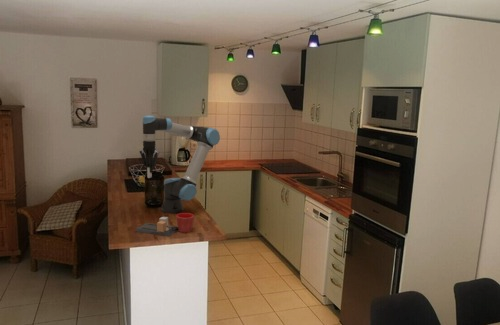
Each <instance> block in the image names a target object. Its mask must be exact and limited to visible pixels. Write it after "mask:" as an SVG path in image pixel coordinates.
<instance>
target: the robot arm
mask: <svg viewBox="0 0 500 325" xmlns="http://www.w3.org/2000/svg"><path fill="white" fill-rule="evenodd" d="M156 131H161V132H165V133H168V134H173V135H177V136H181V137H184V138H186V139H187V140H191V141H194V142H195V143H196V144H197V146H196V149H195V151H194V154H193V156H192V158H191V160H190V162H189V164H188V166H187V169H186V171H185V173H184V176H181V177H170V178H165V179H164V181H163V197H164V198H163V202H162V205H161V211H162V212H163V213H167V214H176V213H177V214H178V213H182V212H183V211H184V205H183V202H182V201H192V200H193V199H194V198H195V197H196V195H197V193H198V192H197V191H198V190H197V179H198V176H199V175H200V172H201V169H202V168H203V165H204V163H205V160H206V159H207V156H208V153H209V151H210V150H212V149H213V148H214V147H215V146H216V145H217V144H219V143H220V139H221V135H220V132H219V131H218V130H217V129H216V128H214V127H208V126H197V125H195V126H194V125H184V124H180V123H176V122H173V121H172V119H171V118H168V117H165V118H164V117H163V118H162V117H156V116H155V115H143V117H142V139H143V141H142V146H143V148H142V150H139V153H140V156H141V161H142V166H143V167H145V168H146V169H145V171H146V173H147V178H148V179H150V178H153V176H152V175H153V174H152V173H154V172H153V171H154V169H153V168H154V167H156V166H157V160H158V156H159V155H160V152H159V151H157V148H156Z"/></svg>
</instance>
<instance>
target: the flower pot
mask: <svg viewBox="0 0 500 325" xmlns="http://www.w3.org/2000/svg"><path fill="white" fill-rule="evenodd" d="M175 217H176V223H177V227H178V232H180V233H191V232H192V229H193V223H194V219H195V215H194V214H193V213H190V212H179V213H177V214H176V216H175Z"/></svg>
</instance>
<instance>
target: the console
mask: <svg viewBox="0 0 500 325" xmlns="http://www.w3.org/2000/svg"><path fill="white" fill-rule="evenodd" d="M135 231H136V232H137V233H145V234H150V235H151V234H152V235H158V236H165V237H170V236H171V235H173V234H175V233H176V232H179V230H178V226H173V225H168V226H166V230H165V231H164V232H160V231H157V223H152V222H151V223H149V222H146V223H144V224H142V225H140V226H138V227H136V228H135Z"/></svg>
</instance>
